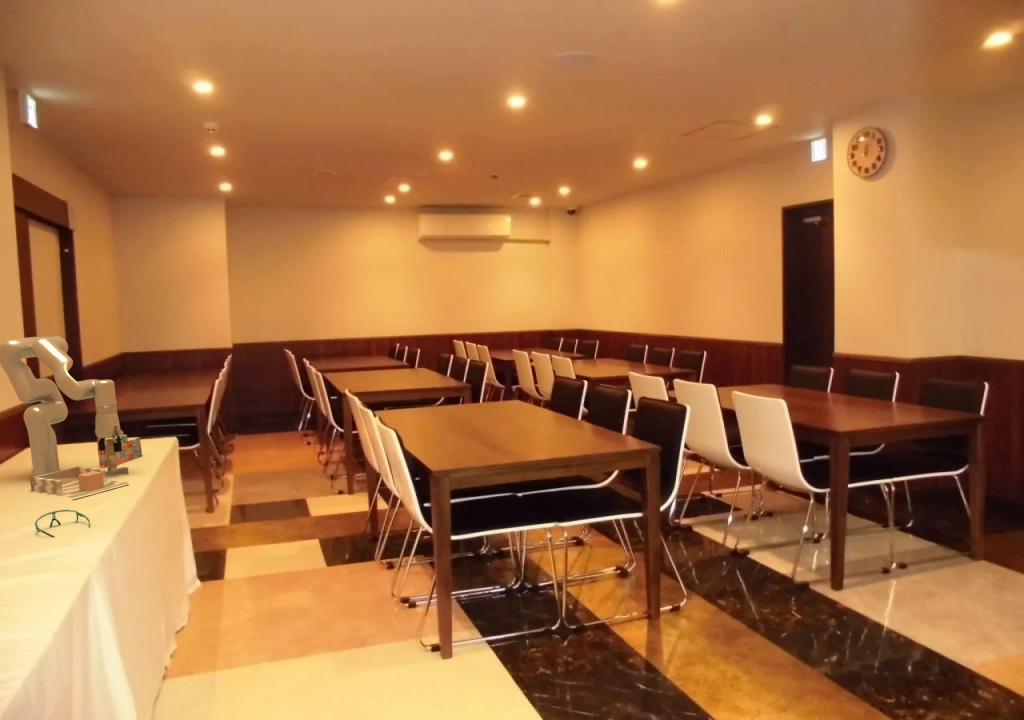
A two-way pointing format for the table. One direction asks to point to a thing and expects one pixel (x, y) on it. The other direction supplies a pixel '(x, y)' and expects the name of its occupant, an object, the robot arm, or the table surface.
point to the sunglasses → (57, 520)
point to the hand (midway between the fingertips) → (110, 450)
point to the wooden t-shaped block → (112, 461)
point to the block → (91, 481)
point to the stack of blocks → (123, 451)
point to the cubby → (68, 483)
